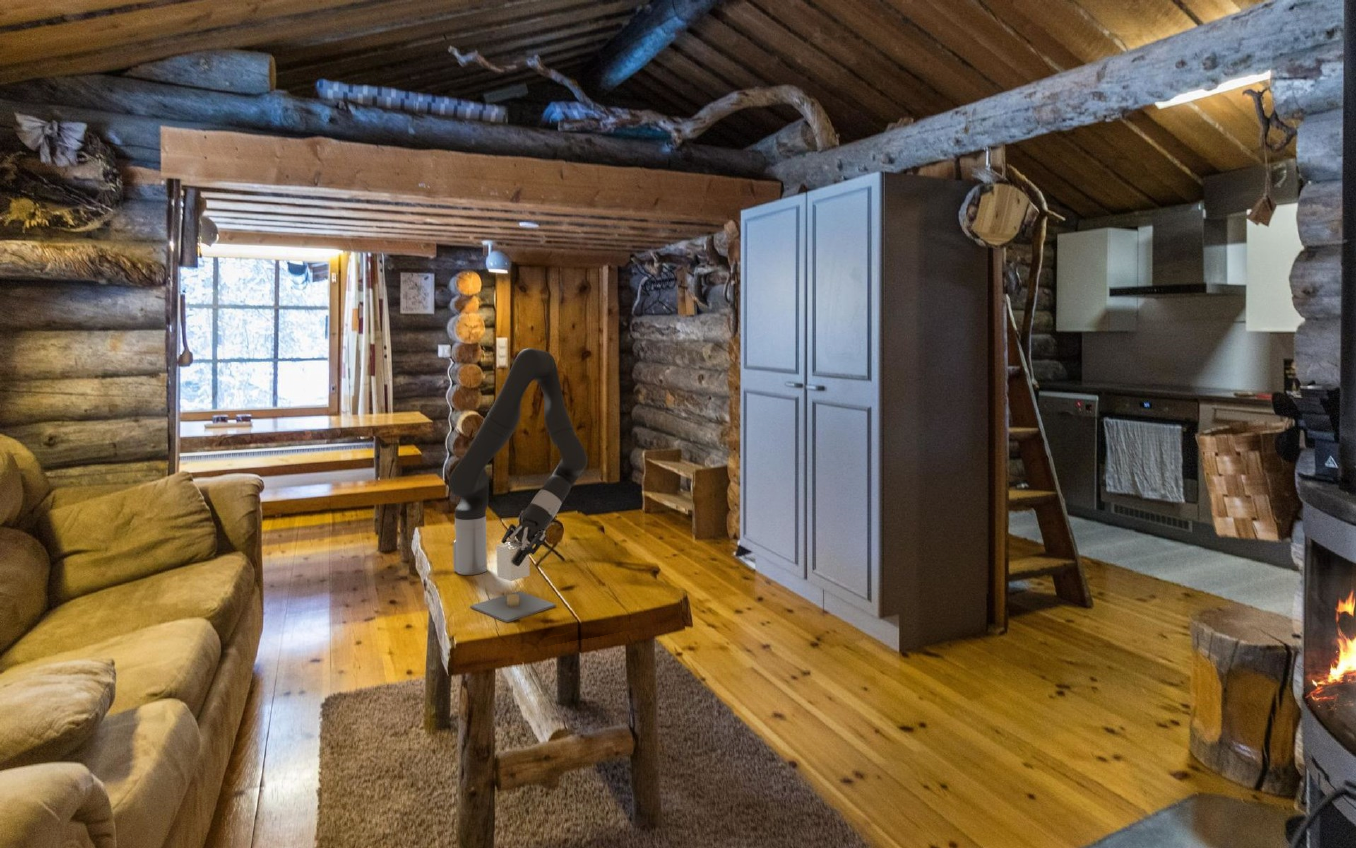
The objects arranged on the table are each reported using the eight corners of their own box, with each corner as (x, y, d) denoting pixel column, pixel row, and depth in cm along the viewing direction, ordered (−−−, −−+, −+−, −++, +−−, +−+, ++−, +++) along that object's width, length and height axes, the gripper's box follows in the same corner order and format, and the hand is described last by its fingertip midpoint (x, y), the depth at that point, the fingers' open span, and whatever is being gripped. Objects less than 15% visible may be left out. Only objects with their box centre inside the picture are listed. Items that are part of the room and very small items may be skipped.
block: (497, 576, 205) (496, 545, 204) (515, 571, 209) (514, 541, 208) (511, 581, 201) (509, 549, 200) (529, 575, 205) (528, 544, 204)
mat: (470, 607, 205) (470, 596, 205) (519, 593, 217) (519, 582, 217) (506, 622, 195) (506, 610, 194) (555, 606, 206) (555, 595, 206)
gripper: (517, 499, 213) (483, 550, 205) (550, 506, 204) (515, 559, 196) (533, 514, 218) (500, 564, 210) (566, 522, 208) (532, 575, 200)
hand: (507, 562), depth 203 cm, fingers closed on block, 6 cm apart
